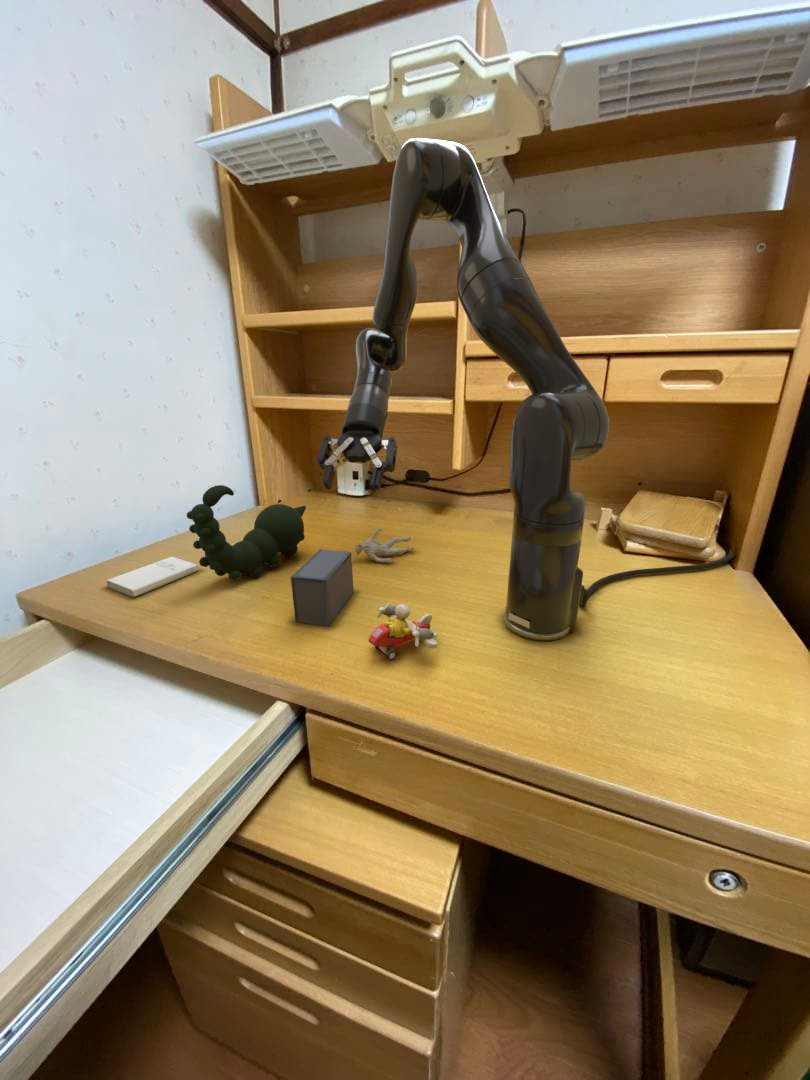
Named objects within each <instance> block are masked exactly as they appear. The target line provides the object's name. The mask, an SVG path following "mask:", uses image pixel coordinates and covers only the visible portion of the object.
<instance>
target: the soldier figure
mask: <svg viewBox="0 0 810 1080" xmlns="http://www.w3.org/2000/svg"><path fill="white" fill-rule="evenodd" d="M383 529H385V527H384V526H382V527H381V526H380V527H379V528H377V530H375V532H373V533H372V534H371V535H370V536H369V538H367V539H366V540H365V541H364V543H363V544H355V545H354V548H355V549H354V550H355V553H356V555H357V556H359V555H360V554H361V553H362V552H364V553H365V554H366V556H367V557H368V558H370V559H371V560H373V561H375V562H376V563H392V562H394V558H393V557H392V558H391V557H390V556H395V555H402V554H403V553H405V552H413V551H414V550H415V546H410V547H405V548H401V547H395V548H392V547H393V546H395V545H396V544H399V543H402V542H405V543H407V542H410V540H411V539H412V536H411V535H408V536H406V537H397V536H395V537H393V538H390V539H389V540H387V541H385V543H384V542H380V541H374V540H375V539H376V538H377V536H378V535H379V533H380V532H383ZM378 556H379V557H378ZM382 557H383V558H382ZM384 557H389V558H384Z"/></svg>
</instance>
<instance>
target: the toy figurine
mask: <svg viewBox="0 0 810 1080" xmlns="http://www.w3.org/2000/svg"><path fill="white" fill-rule="evenodd" d="M226 495H228V496H232V497H233V496H234V495H235V493H234V490H233V489H232V488H230V487H229V486H226V485H224V484H219V485H213V486H211V487H209V488H208V489H207V490H206V491H205V492H204V493H203V495H202V497H201V499H202V503H198V504H196V505H195V506H193V507H192V508H191V510H189V511H187V512H186V518H187V519H188V520H192V522H193V524H191V525H189V528H188V530H189V532H190V533H192V534H196V536H197V537H198V539H197V540H195V541H194V542H193V544H192V545H193V548H194V549H196V550H200V549H201V550H202V551H203V552H204V556H202V557H200V559H199V560H198V563H199V565H200V566H201V567H203V568H207V567H209V569H210V570H212V571H214V574H216V576H219V577H223V576H225V575H226V574H228V579H230V581H234V582H235V581H239V580H240V579H241V577H242V575H249V574H250V576H251V577H253V578H259V577H260V576H261V575H262V573H263V572H262V568H261V566H262V565H263V564H266V565H267V566H269V568H276V567H278V566H279V565H280V564H281V557H280V556H279V554H280V555H282V556H283V557H287V558H289V557H293V556H295V555H296V554H297V553H298V551H299V547H298V545H299V543H301V542H302V541H304V540H305V537H306V536H305V524H304V520H303V516H304V513H305V512H306V509H307V506H306V505H301V506H297V507H294V508H293V507H292V506H290V505H287V504H283V503H276V504H271V505H269V506H267V507H265V508H264V509H262V510H261V511H260V512H259V513H258V514H257V516H256V518H255V520H254V523H253V529H251V530H249V531H248V532H247V533H246V534H245V535H244V536H243V538H242V540H240V541H238V542H235V543H234V544H233V545H232V544H231V543H229V542H228V541H227V539H226V536H225V534H224V532H222V531H221V529H220V528H221V527H220V523H219V520H217V518H215V517H214V516H215V514H214V513H215V512H214V510H213V508H212V507H214V506H216V505H217V504H218V503H219V501H221V499H222V498H223V497H224V496H226ZM278 553H279V554H278Z"/></svg>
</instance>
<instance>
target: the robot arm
mask: <svg viewBox="0 0 810 1080" xmlns="http://www.w3.org/2000/svg"><path fill="white" fill-rule="evenodd" d="M388 208H389V209H388V216H387V227H386V235H385V236H386V238H385V249H384V250H385V251H384V260H383V266H382V267H383V269H382V273H381V279H380V284H379V286H378V287H379V288H378V291H377V295H376V298H375V304H374V306H373V312H372V321H373V324H374V325H375V327H376V328H377V329H376V328H373V327H366V328H364V329H362V330H361V331H360V332H359V333H358V335H357V338H356V341H355V342H356V343H355V359H356V366H357V367H356V368H357V373H356V379H355V383H354V387H353V391H352V394H351V396H350V397H349V401H348V406H347V410H346V413H345V416H344V417H345V418H344V421H343V426H342V431H341V434H340V436H339V437H338V438H333V437H331V436H330V435H329V434H326V435H324V436H323V438H322V441H321V445H320V447H319V450H318V453H317V456H316V458H315V459H316V460H315V461H316V462H317V464H318V465H319V467H320V469H321V470H323V473H322V477H321V483H322V484H323V486H324V487H325V489H326V490H331V489H332V487H333V482H334V478H335V474H336V472H335V471H337V470H338V469H339V468H340V467H344V465H346V464H347V463H348V462H349V463H357V462H358V463H361V464H362V463H363V464H364V463H365V464H366V463H367V462H370V463H371V465H372V466H373V468H372V474H371V478H370V482H369V488H370V490H371V492H372V493H376V492H377V491H378V490H380V488H381V486H382V482H383V475H384V474H385V473H394V471H395V469H396V463H397V462H396V461H397V452H398V444H397V441H396V438H395V437H394V436H390V437H389V438H388V439H383V436H384V435H383V434H384V431H385V425H386V421H387V419H388V411H389V399H390V395H391V391H392V390H391V389H392V386H393V376H392V374H391V373H396V372H399V371H400V370H402V368H403V367H404V366H405V364H406V361H407V354H408V329H409V325H410V321H411V318H412V315H413V312H414V309H415V307H416V303H417V299H418V296H419V276H418V273H417V268H416V265H415V260H414V257H413V252H412V239H413V234H414V232H415V231H414V230H415V228H416V226H417V223H418V221H419V220H426V221H427V220H429V221H431V220H432V221H445V222H447V223H448V224H449V225H450V226H451V227H452V229H453V230H454V232H455V235H456V236H457V238H458V240H459V244H460V246H461V253H460V258H459V263H458V268H457V275H456V292H457V296H458V299H459V302H460V305H461V306H462V309H463V310H464V313H465V315H466V317H467V319H468V321H469V323H470V325H471V327H472V329H473V331H474V332H475V334H476V335H477V337H478V338H479V339H480V340H481V342H482V343H483V344H485V346H487V347H488V349H489V350H490V351H491V352H493V354H495V355H496V356H497V357H498V358H499V359H501V360H502V361H503V362H504V363H505V364H506V365H507V366H508V367H510V368H511V369H512V370H513V371H514V372H515V373H516V374H517V375H518V376H519V377H520V379H522V381H523V382H524V383H525V385H526V387H527V388H528V391H530V393H531V394H530V395H529V396H526V398H524V399H523V401H522V402H521V403H520V404H519V406H518V407H517V410H516V412H515V414H514V417H513V420H512V426H511V432H510V433H511V434H510V462H509V463H510V464H509V465H510V466H509V487H510V492H511V496H512V500H513V516H512V517H513V518H512V531H511V543H510V546H511V547H510V555H509V567H508V581H507V593H506V603H505V604H506V606H505V612H504V623H505V626H506V627H507V628H508V629H509V630H510V631H511V632H513V633H515V634H516V635H518V636H521V637H523V638H527V639H530V640H536V641H555V640H559V639H561V638H564V637H566V636H567V635H568V634H569V633H572V632H576V627H577V620H578V614H579V608H580V607H579V606H581V607H585V605H586V604H587V602H588V600H589V599H590V598H591V596H592V595H593V593H594V592H595V590H597V589H598V588H599V587H601V586H602V585H604V584H607V583H609V582H612V581H616V580H618V579H623V578H629V577H633V576H641V575H650V574H651V575H652V574H653V575H654V574H663V573H673V572H686V571H688V572H689V571H698V570H705V569H710V568H715V567H718V566H721V565H725V564H726V563H728V562H729V561H731V560H732V559H733V558H734V557H735V555H736V553H735V554H734V555H733V552H732V550H731V549H730V548H729V552H728V554H727V555H726V556H725V557H722V558H720V559H717V560H714V561H713V560H712V561H709V562H704V563H699V564H688V565H677V566H666V567H654V568H641V569H632V570H627V571H622V572H618V573H613V574H610V575H606V576H604V577H601V578H600V579H598V580H596V581H595V582H592V584H591V585H590V586H589V587H588V588H585V587H586V586H584V585H583V578H584V572H583V570H582V569H581V568H580V567H578V566H579V560H580V552H581V545H582V538H583V531H584V523H585V515H586V509H587V499H586V496H585V495H584V494H583V493H582V492H580V491H578V490H577V489H576V490H575V489H573V488H572V487H571V472H572V463H576V462H581V461H585V460H588V459H590V458H593V457H595V456H596V455H598V454H599V453H600V452H601V451H602V450H603V448H604V447H605V446H606V444H607V442H608V439H609V435H610V434H609V433H610V428H611V427H610V417H609V413H608V410H607V407H606V405H605V403H604V401H603V400H602V398H601V396H600V395H599V394H598V392H597V390H596V388H595V387H594V386H593V385H592V383H591V381H590V380H589V378H588V377H587V376H586V375H585V373H584V372H583V371H582V369H581V367H580V366H579V364H577V362H576V360H575V359H574V357H573V356H572V355H571V353H570V351H569V350H568V349H567V347H566V345H565V344H564V342H563V340H562V338H561V336H560V334H559V332H558V330H557V328H556V326H555V325H554V323H553V320H552V318H551V317H550V314H548V312H547V309H546V308H545V306H544V305H543V303H542V300H541V299H540V297H539V295H538V293H537V291H536V288H535V287H534V284H533V282H532V280H531V278H530V276H529V274H528V273H527V271H526V269H525V267H524V265H523V263H522V262H521V260H520V257H518V255H517V253H516V252H515V250H514V248H513V246H512V245H511V242H510V240H509V238H508V235H506V232H505V230H504V228H503V226H502V224H501V222H500V220H499V218H498V216H497V214H496V212H495V210H494V207H493V205H492V202H491V200H490V197H489V194H488V192H487V189H486V186H485V184H484V182H483V178H482V176H481V174H480V171H479V169H478V166H477V164H476V162H475V159H474V157H473V156H472V154H471V152H470V150H468V149H467V147H465V146H464V145H463V144H461V143H458V142H455V141H448V140H441V139H432V138H423V137H416V138H409V139H408V140H406V141H405V143H403V145H402V147H401V148H400V149H399V152H398V155H397V158H396V161H395V166H394V170H393V174H392V181H391V189H390V197H389V207H388ZM336 447H337V448H336ZM382 449H384V450H385V452H386V455H385V461H382V462H381V460H380V459H379V456H378V455H377V454H378V453H379V452H380V451H382ZM332 452H333V453H332Z"/></svg>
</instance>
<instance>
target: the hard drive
mask: <svg viewBox="0 0 810 1080" xmlns="http://www.w3.org/2000/svg"><path fill="white" fill-rule="evenodd" d="M198 571H199V567H198V564H196V563H195V562H191V561H188V560H184V559H181V558H178V557H175V556H170V557H169V556H168V557H167V558H164V559H161V560H158V561H155V562H152V563H150V564H147V565H145V566H142V567H139V568H136V569H134V570H131V571H128V572H125V573H123V574H120V575H117V576H114V577H112V578H108V579H106V585H107V587H108V588H109V589H110V590H113V591H116V592H118V593H121V594H124V595H125V596H128V597H131V598H136V597H139V596H140V595H143V594H146V593H148V592H150V591H154V590H155V589H158V588H160V587H162V586H165V585H167V584H170V583H172V582H174V581H177V580H179V579H182V578H184V577H187V576H189V575H192V574H193V573H196V572H198Z"/></svg>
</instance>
